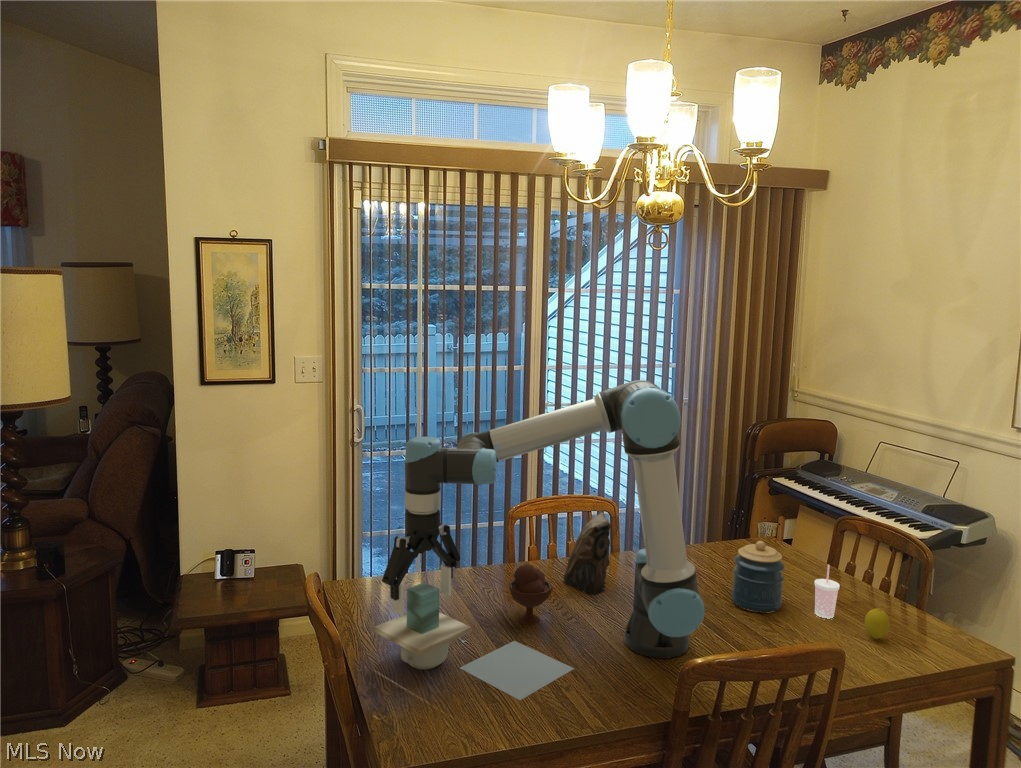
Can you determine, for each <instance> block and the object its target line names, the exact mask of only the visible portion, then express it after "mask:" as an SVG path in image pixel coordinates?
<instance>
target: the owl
mask: <svg viewBox="0 0 1021 768" xmlns="http://www.w3.org/2000/svg"><path fill="white" fill-rule="evenodd" d="M611 528H612V526H611V523H610V521H609V519H608V518H606V515H605V513H604V512H603V511H601V512H600V513H599V514H597V515H596V516H594V517H593V518H591V519H590V520H589V521H588V522H587V523H586V524H585V525H584V526H583V528H582V529H581V531H580V533H579V535H578V537H577V538H576V539H575V543H574V547H573V548H572V551H571V553H570V555H569V558H568V562H567V566H566V569H565V572H564V574H563V581H562V583H563V584H565V585H568V586H571V587H572V588H575V589H576V590H578V591H582V592H584V593H586V594H588V595H592V596H593V595H594V596H595V595H599V594H601V593H604V592H605V589H604V588H606V586H605V585H606V584H607V583H606V577H607V569H608V567H609V566H610V563H611V561H610V545H611V541H610V538H609V536H610V530H611Z"/></svg>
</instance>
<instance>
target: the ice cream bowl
mask: <svg viewBox="0 0 1021 768" xmlns="http://www.w3.org/2000/svg"><path fill="white" fill-rule="evenodd" d="M513 578H514V579H512V580H511V581H509V582H508V587H509V591H510V592H509V593H510V595H511V597H512V599H513V600H514V601H515V602H516V603H518V604H519V605H521V606H522V607H524V608H525V613H524V614H522V615H521V616H519V617H518V620H519V622H521V623H522V624H527V625H534V624H538V623H539V622H540V617H539V616H537V615H535V614H534V608H535V607H539V606H540V605H542V604H543V603H545V601H546V600H548V599H549V597H550V596H551V594H552V591H553V585H552V583H551V582H550V581H548V580H547V579H546V575H545V573H544V572H543V571H542V570H540V569H539V568H537V567H535V566H534V565H532V564H529V563H527V564H523V565H518V567H517V568H516V570H515V571H514V574H513Z"/></svg>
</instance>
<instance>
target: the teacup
mask: <svg viewBox="0 0 1021 768" xmlns="http://www.w3.org/2000/svg"><path fill="white" fill-rule="evenodd" d="M449 648H450V642H448V643H446V644H444V645H442V646H440V647H438V648H435V649H433V650H431V651H429V652H427V653H425V654H422V655H420V656H418V655H417V654H415V653H413V652H411V651H409V650H407V649H405V648H403V647H402V646H401V650H400V659H401V661H403V662H405V664H408V665H409V666H410V667H412V668H413V669H417V670H431V669H434V668H436V667H438V666H440V665H441V664H442V663H444V661H445V660H446V658H447V657H448V652H449Z"/></svg>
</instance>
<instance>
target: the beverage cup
mask: <svg viewBox="0 0 1021 768" xmlns="http://www.w3.org/2000/svg"><path fill="white" fill-rule="evenodd" d="M826 568H827V571H826V578H817V579H815V580H814V581H813V582H814V588H815V589H814V590H815V591H814V615H815V614H816V615H817V616H819V617H822V618H827V619H830V618H833V617H835V611H836V604H837V599H838V592H839V589H840V583H838V582H837V581H835V580H833V579H829V578H830V577H829V576H830V569H831V568H830V564H827V567H826ZM817 616H816V617H817ZM833 619H834V618H833Z"/></svg>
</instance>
